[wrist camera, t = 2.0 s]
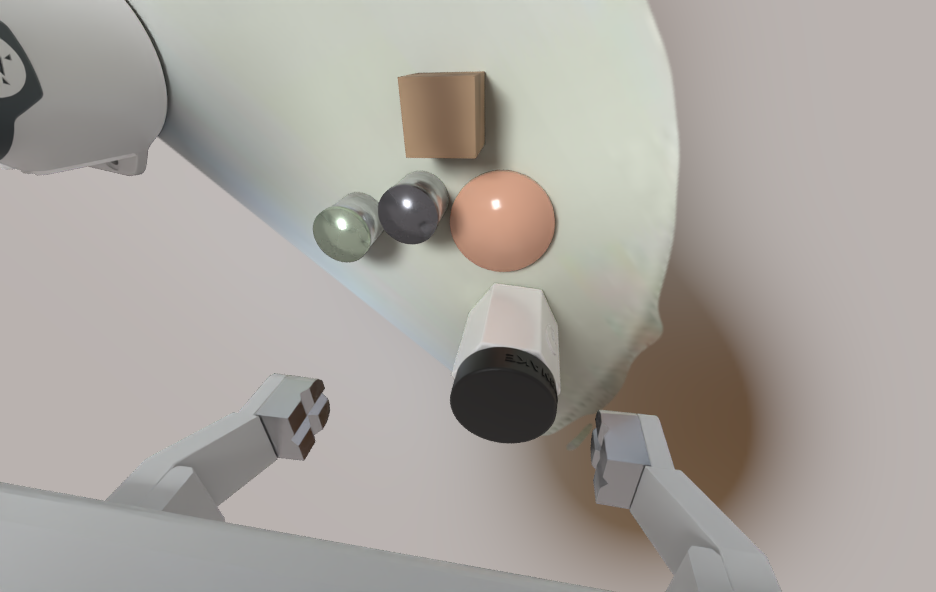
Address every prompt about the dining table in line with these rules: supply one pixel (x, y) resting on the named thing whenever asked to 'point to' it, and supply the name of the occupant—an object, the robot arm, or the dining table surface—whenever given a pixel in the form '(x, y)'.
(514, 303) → the jar
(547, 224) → the pink glossy round part
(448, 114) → the walnut block
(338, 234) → the tin
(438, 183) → the tin
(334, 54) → the dining table surface
